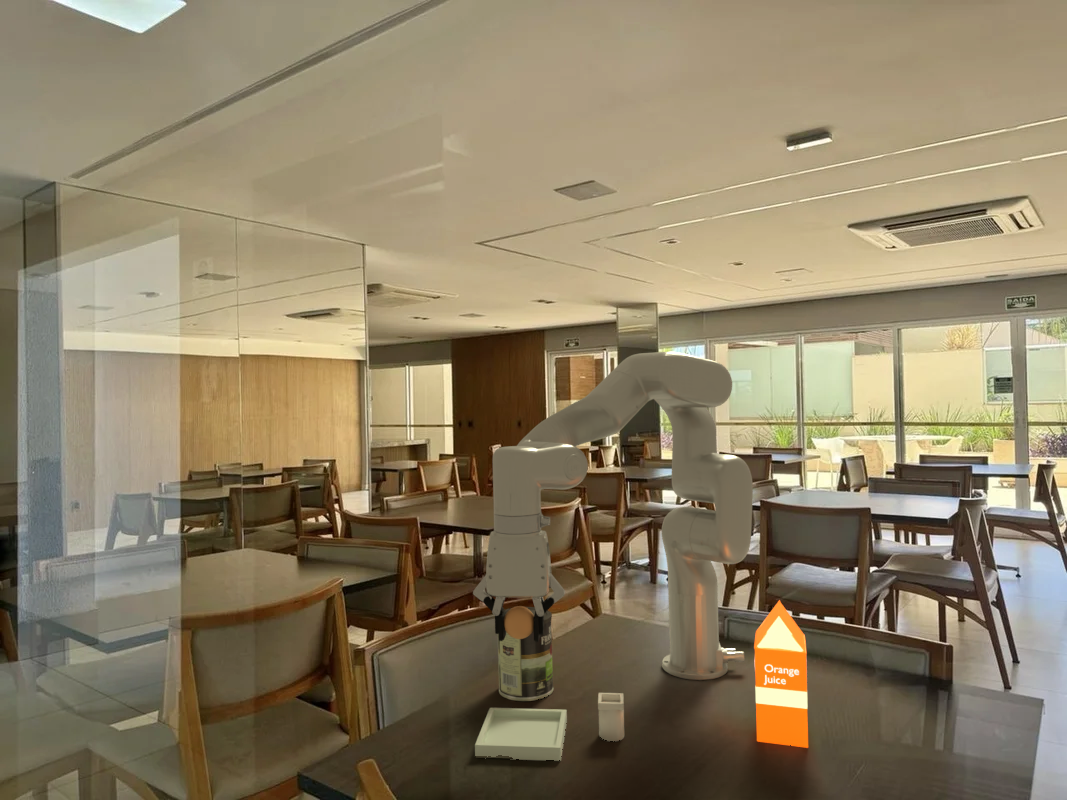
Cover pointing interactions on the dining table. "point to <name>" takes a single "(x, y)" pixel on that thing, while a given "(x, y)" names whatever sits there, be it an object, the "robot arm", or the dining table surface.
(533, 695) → the coffee can
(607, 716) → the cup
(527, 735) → the tray
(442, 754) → the dining table surface
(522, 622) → the ball
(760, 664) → the orange juice
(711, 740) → the dining table surface
